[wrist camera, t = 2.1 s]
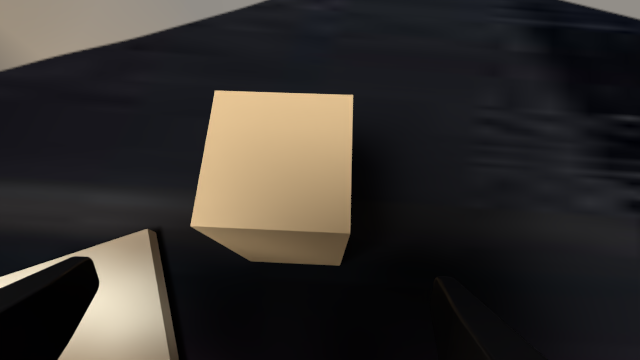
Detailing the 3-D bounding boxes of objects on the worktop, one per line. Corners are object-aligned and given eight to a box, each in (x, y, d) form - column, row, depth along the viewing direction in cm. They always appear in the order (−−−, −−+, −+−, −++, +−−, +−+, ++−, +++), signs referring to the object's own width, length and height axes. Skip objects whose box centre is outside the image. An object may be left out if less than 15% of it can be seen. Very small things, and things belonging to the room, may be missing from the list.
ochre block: (339, 265, 19) (350, 233, 11) (250, 261, 19) (190, 226, 11) (342, 180, 21) (352, 94, 12) (260, 177, 21) (215, 90, 12)
